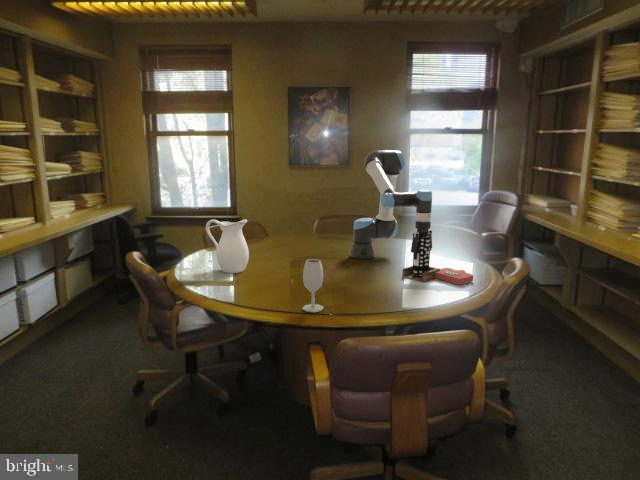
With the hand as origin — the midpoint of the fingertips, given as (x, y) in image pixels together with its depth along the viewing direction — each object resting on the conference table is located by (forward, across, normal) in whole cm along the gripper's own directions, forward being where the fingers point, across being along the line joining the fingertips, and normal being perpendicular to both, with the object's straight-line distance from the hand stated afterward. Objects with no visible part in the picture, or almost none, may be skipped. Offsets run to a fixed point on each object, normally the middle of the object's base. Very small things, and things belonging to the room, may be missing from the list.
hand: (420, 263), depth 247 cm
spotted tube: (+6, 0, 0) cm, 6 cm away
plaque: (+7, +10, -14) cm, 19 cm away
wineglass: (+7, -74, +2) cm, 75 cm away
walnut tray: (+7, 0, 0) cm, 7 cm away
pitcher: (+7, -66, +79) cm, 104 cm away
